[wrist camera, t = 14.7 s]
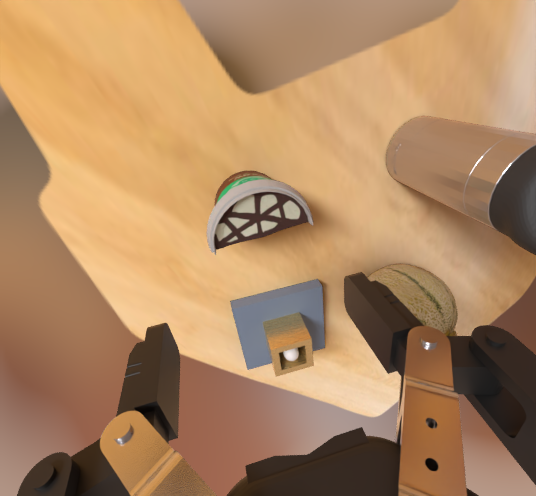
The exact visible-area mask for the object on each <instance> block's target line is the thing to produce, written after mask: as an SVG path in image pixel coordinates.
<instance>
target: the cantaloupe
mask: <svg viewBox="0 0 536 496" xmlns="http://www.w3.org/2000/svg"><path fill="white" fill-rule="evenodd" d="M368 279H369V280H370V281H375V280H376V281H378V282H380V283H382V284H384V285H386V286H387V287H388V288H389V289H390V290H391V291H392V292H393V294H394V295H395V296H396V297H397V298H398V299H399V300H400V302H402V303H403V304H404V305H405V306H406V307H407V308H408V309H409V310H410V311H411V313H412V314H413V315H414V316H415V317H416V318H417V319H418V320H419V321H420V322H421V323H422V324H423V325H424V326H429V327H433V328H435V329H438V330H439V331H441V332H442V333H444V334H445V335H446V336H456V332H455V331H454V328H455V325H456V322H457V308H456V303H455V299H454V297H453V295H452V293H451V291H450V289H449V288H448V287H447V285H446V284H445V283H444V282H443V281H442V280H440V279H439V278H438V277H436V276H435V275H434V274H432V273H430V272H428V271H426V270H424V269H422V268H419V267H415V266H411V265H404V264H396V265H389V266H386V267H384V268H381V269H380V270H377V271H376V272H374V273H372V274H371V275H370V276H369V277H368Z"/></svg>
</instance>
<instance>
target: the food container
mask: <svg viewBox="0 0 536 496" xmlns="http://www.w3.org/2000/svg"><path fill="white" fill-rule="evenodd" d="M306 222H309V223H310V224H311V225H313V218H312V215H311V212H310V209H309V207H308V205H307V203H306V201H305V200H304V198H303V197H302V196H301V194H300V193H299V192H298V191H296V190H295V189H294V188H292V187H291V186H289V185H287V184H285V183H282V182H279V181H275V180H272V179H271V178H269V177H268V176H267V175H265V174H263V173H259V172H256V171H242V172H239V173H236V174H234V175H232V176H230V177H229V178H228V179H226V180H225V181H224V182H223V184H222V185H221V186H220V188H219V190H218V192H217V194H216V198H215V207H214V208H213V210H212V213H211V215H210V217H209V221H208V225H207V241H208V245H209V248H210V249H211V251H212V253H213V252H214V253H215V255H216V249H220V248H224V247H226V246H229V245H232V244H235V243H239V242H243V241H247V240H252V239H256V238H260V237H264V236H267V235H270V234H272V233H275V232H277V231H280V230H283V229H286V228H289V227H292V226H296V225H299V224H302V223H306Z"/></svg>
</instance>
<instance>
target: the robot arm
mask: <svg viewBox="0 0 536 496" xmlns="http://www.w3.org/2000/svg"><path fill="white" fill-rule="evenodd" d="M386 165H387V169H388V171H389V173H390V175H391V176H392V177H393V178H394V179H395V180H397V181H399V182H401V183H403V184H405V185H407V186H409V187H411V188H413V189H415V190H417V191H419V192H421V193H423V194H425V195H427V196H429V197H431V198H433V199H435V200H437V201H439V202H441V203H443V204H445V205H447V206H449V207H451V208H453V209H455V210H457V211H459V212H461V213H463V214H465V215H467V216H469V217H471V218H473V219H475V220H477V221H479V222H481V223H483V224H485V225H487V226H489V227H491V228H493V229H495V230H497V231H499V232H501V233H503V234H505V235H507V236H509V237H510V238H511V239H512V240H513V241H514V242H515V243H516V244H518V245H519V246H520V247H522V248H524V249H525V250H527V251H529V252H531V253H533V254H535V255H536V134H533V133H526V132H520V131H514V130H508V129H502V128H496V127H490V126H484V125H478V124H472V123H466V122H460V121H454V120H448V119H442V118H436V117H430V116H420V117H416V118H414V119H411V120H410V121H408V122H407V123H405V124H404V125H403V126H402V127H401V128H399V129H398V131H397V132H396V133H395V135H394V136H393V138H392V140H391V142H390V144H389V147H388V149H387V154H386ZM344 303H345V308H346V310H347V313H348V315H349V316H350V318H351V319H352V321H353V322H354V324H355V325H356V327H357V328H358V330H359V331H360V333H361V334H362V336H363V337H364V339H365V340H366V341H367V343H368V344H369V346H370V347H371V349H372V350H373V352H374V353H375V355H376V356H377V358H378V359H379V361H380V362H381V364H382V365H383V367H384V368H385V370H386V371H387V373H388V374H389V373H392V372H395V371H398V373H399V374H400V375H401V382H400V394H399V408H398V419H397V429H396V437H395V442H392V441H390V440H387V439H384V438H380V437H374V436H366V435H365V433H364V431H363V429H362V427H361V428H358V429H355V430H352V431H349V432H346V433H343V434H340V435H337V436H334V437H333V438H331V439H330V440H328V441H327V442H326V443H324V444H323V445H322V446H320V447H319V448H317V449H316V450H314V451H313V452H311V453H310V454H308V455H290V456H273V457H271V458H267V459H264V460H261V461H258V462H255V463H252V464H249V465H247V466H246V473H247V476H246V477H244V478H243V479H242V480H240V481H239V482H238V483H237V484H236V485H235V486H234V487H233V488H232V490H231V491H230V492H229V493H228V494H227V496H478V495H477V494H475V493H474V492H472V491H471V490H469V489H467V488H466V478H465V466H464V454H463V442H462V430H461V418H460V407H459V397H458V394H464V395H465V396H466V398H467V399H468V400H469V401H470V403H471V404H472V405H473V407H474V408H475V409H476V410H477V412H478V413H479V414H480V415H481V417H482V418H483V419H484V420H485V422H486V423H487V424H488V425H489V427H490V428H491V429H492V430H493V432H494V433H495V434H496V436H497V437H498V438H499V439H500V441H502V443H503V444H504V446H505V447H506V448H507V450H509V452H510V453H511V455H512V456H513V457H514V458H515V460H516V461H517V462H518V463H519V465H520V466H521V467H522V468H523V470H524V471H525V472H526V473H527V475H528V476H529V477H530V479H531V480H532V481H533V482H534V484H535V485H536V355H535V354H534V353H533V352H532V351H530V350H529V349H528V348H527V347H526V346H525V345H524V344H522V343H521V342H520V341H519V340H518V339H516V338H515V337H514V336H513V335H512V334H510V333H509V332H507V331H505V330H503V329H501V328H498V327H494V326H488V325H485V326H479V327H477V328H475V329H474V330H473V332H472V335H471V336H446V335H445V334H444V333H442V332H441V331H439V330H438V329H435V328H433V327H429V326H424V325H423V324H422V323H421V322H420V321H419V320H418V319H417V318H416V317H415V316H414V315H413V314H412V313H411V311H410V310H409V309H408V308H407V307H406V306H405V305H404V304H403V303H402V302H400V300H399V299H398V298H397V297H396V296H395V295H394V294H393V292H392V291H391V290H390V289H389V288H388V287H387V286H386V285H384V284H382V283H380V282H378V281H376V280H375V281H370V280H369V279H368V278H367V277H366V276H365V275H364V274H363V273H362V272H360V273H356V274H353V275H349V276H346V277H345V279H344ZM179 380H180V355H179V350H178V347H177V344H176V342H175V340H174V338H173V335H172V333H171V331H170V328H169V326H168V324H167V323H163V324H159V325H155V326H151V327H148V328H147V331H146V337H145V341H144V342H140V343H137V344H136V345H135V347H134V348H133V350H132V352H131V353H130V355H129V359H128V364H127V369H126V373H125V378H124V383H123V388H122V392H121V397H120V402H119V407H118V411H117V415H116V417H115V418H114V419H113V420H112V421H111V422H110V423H109V424H108V425H107V427H106V428H105V430H104V431H103V433H102V436H101V438H100V439H99V440H97V441H96V442H94V443H93V444H91V445H90V446H88V447H86V448H85V449H84V450H82V451H80V452H78V453H77V454H75V455H73V456H72V457H70V456H69V455H68V454H66V453H62V452H59V453H54V454H52V455H49V456H47V457H46V458H44V459H43V460H41V461H40V462H39V463H37V464H36V465H35V466H34V467H33V468H32V469H31V471H30V472H29V473H28V474H27V476H26V477H25V478H24V480H23V482H22V484H21V486H20V489H19V491H18V494H17V496H216V494H215V493H214V492H213V491H212V490H211V489H210V488H209V487H208V485H207V484H206V483H205V482H204V481H203V480H202V479H201V478H200V477H199V475H198V474H197V473H196V472H195V471H194V470H193V469H192V468H191V466H190V465H189V464H188V463H187V462H186V461H185V460H184V459H183V457H182V456H181V455H180V454H179V453H178V452H177V451H174V450H173V449H172V448H171V447H170V446H169V444H168V441H169V440H173V439H176V438H178V416H179V415H178V414H179V382H180V381H179Z"/></svg>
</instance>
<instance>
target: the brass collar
mask: <svg viewBox="0 0 536 496" xmlns="http://www.w3.org/2000/svg"><path fill="white" fill-rule="evenodd" d="M263 327H264V332H265V337H266V343H267V348H268V351H269V354H270V358H271V361H272V365H273V368H274V372H275V375H276V376H280V375H283V374H286V373H290V372H293V371H297V370H300V369H304V368H307V367H310V366H314V362H313V350H312V338H311V336H310V334H309V332H308V330H307V328H306V326H305V324H304V321H303V319H302V317H301V315H300V313H299V312H298V313H294V314H290V315H286V316H283V317H279V318H275V319H272V320H268V321H264V322H263ZM294 348H298V351H299V356H298V358H297V359H296V360H294V361H288V360H287V359H286V358H285V357H284V354H283V352H284V351H287V350H291V349H294Z"/></svg>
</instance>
